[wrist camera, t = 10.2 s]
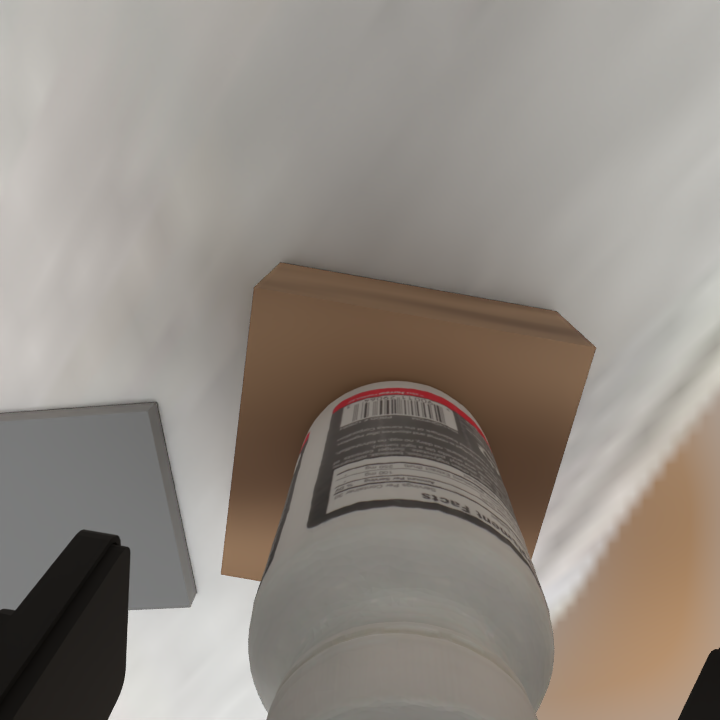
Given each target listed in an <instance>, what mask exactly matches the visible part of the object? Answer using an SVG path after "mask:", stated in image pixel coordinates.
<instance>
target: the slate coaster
mask: <svg viewBox="0 0 720 720" xmlns="http://www.w3.org/2000/svg"><path fill="white" fill-rule="evenodd" d="M83 529H85V530H91V531H96V532H102V533H108V534H114V535H118V536H119V537H120V540H121V546H126V547H129V548H130V554H131V555H130V578H129V601H128V610H142V609H164V608H185V607H191V604H192V602H193V600H194V598H195V595H196V593H197V592H196V588H195V583H194V578H193V573H192V569H191V564H190V559H189V554H188V550H187V545H186V540H185V536H184V531H183V526H182V521H181V517H180V512H179V507H178V502H177V498H176V493H175V488H174V483H173V479H172V474H171V469H170V464H169V460H168V455H167V450H166V445H165V441H164V436H163V431H162V426H161V422H160V417H159V412H158V407H157V403H156V402H153V403H139V404H125V405H111V406H97V407H83V408H69V409H55V410H41V411H27V412H13V413H0V610H1V609H11V610H16V609H17V608H18V606H19V605H20V604H21V603H22V601H23V600H24V599H25V598H26V596H27V595H28V594H29V593H30V591H31V590H32V589H33V588H34V586H35V585H36V584H37V583H38V581H39V580H40V579H41V578H42V576H43V575H44V574H45V573H46V571H47V570H48V569H49V568H50V566H51V565H52V564H53V563H54V561H55V560H56V559H57V558H58V556H59V555H60V554H61V553H62V551H63V550H64V549H65V548H66V546H67V545H68V544H69V543H70V541H71V540H72V539H73V538H74V536H75V535H76V534H77V533H78V532H79V531H80V530H83Z"/></svg>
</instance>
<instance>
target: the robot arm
mask: <svg viewBox="0 0 720 720" xmlns="http://www.w3.org/2000/svg"><path fill="white" fill-rule="evenodd" d="M130 555H131V554H130V548H129V547H126V546H121V540H120V537H119V536H118V535H114V534H108V533H102V532H96V531H91V530H85V529H83V530H80V531H79V532H78V533H77V534H76V535H75V536H74V538H73V539H72V540H71V541H70V543H69V544H68V545H67V546H66V548H65V549H64V550H63V551H62V553H61V554H60V555H59V556H58V558H57V559H56V560H55V561H54V563H53V564H52V565H51V566H50V568H49V569H48V570H47V571H46V573H45V574H44V575H43V576H42V578H41V579H40V580H39V581H38V583H37V584H36V585H35V586H34V588H33V589H32V590H31V591H30V593H29V594H28V595H27V596H26V598H25V599H24V600H23V601H22V603H21V604H20V605H19V606H18V608H17V609H16V610H11V609H1V610H0V720H108V718H109V716H110V714H111V712H112V710H113V708H114V706H115V704H116V702H117V700H118V697H119V695H120V692H121V690H122V686H123V683H124V678H125V671H126V648H127V624H128V601H129V578H130ZM678 720H720V648H719V649H715V650H713V651H711V653H710V654H709V656H708V658H707V660H706V662H705V664H704V666H703V668H702V671H701V673H700V675H699V677H698V679H697V681H696V683H695V685H694V687H693V689H692V691H691V693H690V695H689V698H688V700H687V702H686V704H685V706H684V708H683V710H682V712H681V715H680V717H679V719H678Z"/></svg>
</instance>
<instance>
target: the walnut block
mask: <svg viewBox="0 0 720 720" xmlns="http://www.w3.org/2000/svg"><path fill="white" fill-rule="evenodd" d="M595 350H596V347H595V346H594V345H593V344H592V343H591V342H589V341H588V340H587V339H586V338H585V337H584V336H583V335H582V334H581V333H580V332H579V331H577V330H576V329H575V328H574V327H573V326H572V325H571V324H570V323H569V322H568V321H567V320H565V319H564V318H563V317H562V316H561V315H560V314H559V313H558V312H557V311H552V310H546V309H541V308H535V307H529V306H524V305H518V304H512V303H507V302H501V301H495V300H490V299H484V298H478V297H473V296H467V295H462V294H456V293H450V292H445V291H439V290H433V289H428V288H422V287H416V286H411V285H405V284H399V283H394V282H388V281H382V280H377V279H371V278H366V277H360V276H354V275H349V274H343V273H337V272H332V271H326V270H320V269H315V268H309V267H303V266H298V265H292V264H286V263H281V262H280V263H279V264H278V265H277V266H276V267H275V268H274V269H273V270H272V271H271V272H270V273H269V274H268V275H266V276H265V277H264V278H263V279H262V280H261V281H260V282H259V283H258V284H257V285H256V286H255V287H254V292H253V300H252V309H251V318H250V326H249V335H248V344H247V352H246V361H245V369H244V378H243V387H242V395H241V404H240V413H239V421H238V430H237V439H236V447H235V456H234V465H233V473H232V482H231V490H230V499H229V508H228V516H227V525H226V534H225V542H224V551H223V560H222V568H221V575H227V576H233V577H239V578H245V579H250V580H256V581H261V579H262V575H263V573H264V570H265V567H266V564H267V561H268V557H269V554H270V551H271V547H272V544H273V541H274V538H275V535H276V532H277V529H278V525H279V522H280V519H281V515H282V512H283V509H284V506H285V502H286V498H287V495H288V491H289V488H290V484H291V481H292V478H293V475H294V471H295V467H296V463H297V460H298V457H299V454H300V451H301V448H302V445H303V442H304V440H305V437H306V435H307V433H308V431H309V429H310V427H311V426H312V424H313V422H314V421H315V420H316V418H317V417H318V416H319V415H320V414H321V413H322V411H323V410H324V409H325V408H326V407H327V406H328V405H329V404H331V403H332V402H333V401H335V400H336V399H338V398H339V397H341V396H342V395H344V394H345V393H347V392H350V391H352V390H354V389H356V388H359V387H361V386H365V385H368V384H372V383H377V382H385V381H406V382H413V383H418V384H423V385H427V386H430V387H433V388H435V389H437V390H440V391H442V392H443V393H445V394H447V395H448V396H450V397H451V398H453V399H454V400H456V401H457V402H459V403H460V404H461V405H463V406H464V407H465V408H466V409H467V410H468V411H469V412H470V413H471V415H472V416H473V417H474V419H475V420H476V421H477V423H478V424H479V426H480V427H481V429H482V431H483V432H484V434H485V437H486V439H487V441H488V443H489V446H490V448H491V451H492V454H493V456H494V458H495V461H496V464H497V467H498V470H499V472H500V475H501V478H502V481H503V484H504V486H505V488H506V491H507V493H508V496H509V499H510V502H511V505H512V508H513V511H514V514H515V517H516V520H517V523H518V525H519V528H520V531H521V533H522V536H523V538H524V541H525V544H526V547H527V550H528V553H529V556H530V559H532V555H533V552H534V549H535V546H536V542H537V539H538V536H539V533H540V529H541V526H542V523H543V519H544V516H545V513H546V510H547V506H548V503H549V500H550V497H551V493H552V490H553V487H554V484H555V480H556V477H557V474H558V470H559V467H560V464H561V461H562V457H563V454H564V451H565V448H566V444H567V441H568V438H569V435H570V431H571V428H572V425H573V421H574V418H575V415H576V412H577V408H578V405H579V402H580V399H581V395H582V392H583V389H584V386H585V382H586V379H587V376H588V372H589V369H590V366H591V363H592V359H593V356H594V353H595Z"/></svg>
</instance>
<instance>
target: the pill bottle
mask: <svg viewBox="0 0 720 720" xmlns="http://www.w3.org/2000/svg"><path fill="white" fill-rule="evenodd" d="M248 652H249V661H250V669H251V674H252V677H253V681H254V684H255V687H256V690H257V692H258V695H259V697H260V699H261V701H262V703H263V705H264V707H265V709H266V711H267V712H268V716H267V720H538V719H537V716H536V712H537V710H538V708H539V707H540V704H541V702H542V700H543V698H544V696H545V693H546V691H547V688H548V685H549V682H550V679H551V674H552V669H553V662H554V639H553V631H552V625H551V620H550V614H549V609H548V606H547V603H546V600H545V597H544V594H543V592H542V589H541V586H540V583H539V581H538V578H537V575H536V572H535V569H534V566H533V564H532V561H531V559H530V556H529V553H528V550H527V547H526V544H525V541H524V538H523V536H522V533H521V531H520V528H519V525H518V523H517V520H516V517H515V514H514V511H513V508H512V505H511V502H510V499H509V496H508V493H507V491H506V488H505V486H504V484H503V481H502V478H501V475H500V472H499V470H498V467H497V464H496V461H495V458H494V456H493V454H492V451H491V448H490V446H489V443H488V441H487V439H486V437H485V434H484V432H483V431H482V429H481V427H480V426H479V424H478V423H477V421H476V420H475V419H474V417H473V416H472V415H471V413H470V412H469V411H468V410H467V409H466V408H465V407H464V406H463V405H461V404H460V403H459V402H457V401H456V400H454V399H453V398H451V397H450V396H448V395H447V394H445V393H443V392H442V391H440V390H437V389H435V388H433V387H430V386H427V385H423V384H418V383H413V382H406V381H385V382H377V383H372V384H368V385H365V386H361V387H359V388H356V389H354V390H352V391H350V392H347V393H345V394H344V395H342V396H341V397H339V398H338V399H336V400H335V401H333V402H332V403H331V404H329V405H328V406H327V407H326V408H325V409H324V410H323V411H322V413H321V414H320V415H319V416H318V417H317V418H316V420H315V421H314V422H313V424H312V426H311V427H310V429H309V431H308V433H307V435H306V437H305V440H304V442H303V445H302V448H301V451H300V454H299V457H298V460H297V463H296V467H295V471H294V475H293V478H292V481H291V484H290V488H289V491H288V495H287V498H286V502H285V506H284V509H283V512H282V515H281V519H280V522H279V525H278V529H277V532H276V535H275V538H274V541H273V544H272V547H271V551H270V554H269V557H268V561H267V564H266V567H265V570H264V573H263V575H262V579H261V582H260V585H259V588H258V591H257V594H256V597H255V600H254V605H253V611H252V617H251V622H250V628H249V639H248Z"/></svg>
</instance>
